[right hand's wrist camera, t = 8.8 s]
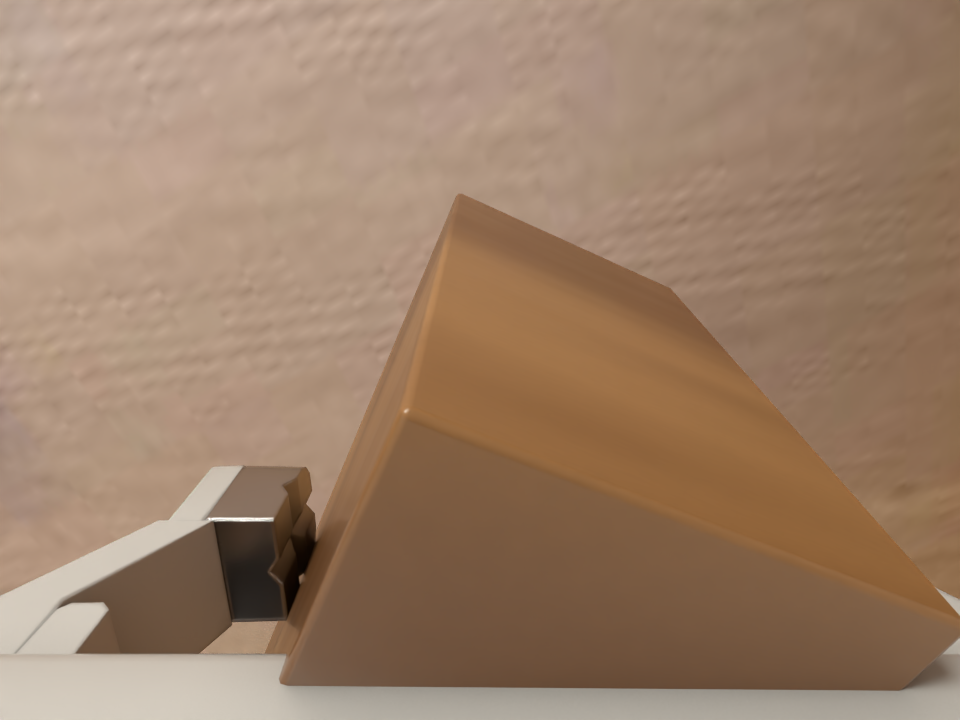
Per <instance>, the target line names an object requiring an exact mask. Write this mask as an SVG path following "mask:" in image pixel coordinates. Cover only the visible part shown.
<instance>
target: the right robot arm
mask: <svg viewBox="0 0 960 720" xmlns="http://www.w3.org/2000/svg"><path fill="white" fill-rule="evenodd" d="M311 492H312V486H311V479H310V473H309V471H308V470H307V468H306V467H274V466H247V467H246V466H244V465H241V466H216V467H212V468H211V469H210V470H209V471H208V473H207V474H206V475H205V476H204V478H203V479H202V480H201V481H200V482H199V484H198V485H197V486H196V487H195V488H194V490H193V491H192V492H191V493H190V495H189V496H188V497H187V498H186V499H185V501H184V502H183V503H182V504H181V505H180V507H179V508H178V509H177V510H176V512H175V513H174V514H173V515H172V516H171V518H170V519H169V520H158V521H156V522H154V523H152V524H150V525H148V526H146V527H144V528H141V529H139V530H137V531H135V532H133V533H131V534H129V535H127V536H125V537H123V538H121V539H118V540H116V541H114V542H112V543H110V544H108V545H106V546H104V547H102V548H100V549H97V550H95V551H93V552H91V553H89V554H87V555H85V556H83V557H81V558H79V559H77V560H74V561H72V562H70V563H68V564H66V565H64V566H62V567H60V568H58V569H56V570H53V571H51V572H49V573H47V574H45V575H43V576H41V577H39V578H37V579H35V580H33V581H30V582H28V583H26V584H24V585H22V586H20V587H18V588H16V589H14V590H12V591H9V592H7V593H5V594H3V595H1V596H0V720H960V638H959V639H958V640H957V641H956V642H955V643H954V644H953V645H952V646H950V647H949V648H948V649H947V650H946V651H945V652H944V653H943V654H942V655H941V656H939V657H938V658H937V659H936V660H935V661H934V662H933V663H932V664H931V665H930V666H928V667H927V668H926V669H925V670H924V671H923V672H922V673H921V674H920V675H919V676H917V677H916V678H915V679H914V680H913V681H912V682H911V683H910V684H909V685H908V686H906V687H905V688H904V689H902V690H899V691H866V690H741V689H615V688H490V687H364V686H286V685H283V684H280V681H279V677H280V674H281V671H282V667H283V664H284V661H285V658H286V654H199V653H200V652H201V651H202V650H204V649H205V648H206V647H207V646H208V645H209V644H211V643H212V642H213V641H214V640H215V639H216V638H218V637H219V636H220V635H221V634H222V633H223V632H225V631H226V630H227V629H228V628H229V627H230V626H231V625H232V622H255V621H286V620H287V618H288V615H289V612H290V610H291V607H292V604H293V602H294V599H295V596H296V594H297V591H298V588H299V586H300V581H299V576H301V575H302V574H304V571H305V569H306V566H307V564H308V561H309V559H310V556H311V553H312V551H313V548H314V545H315V542H316V522H315V513H314V512H313V511H312V510H311V509H310V508H309V507H308V506H307V505H306V503H307V500H308V498H309V496H310V494H311ZM936 589H937V588H936ZM937 590H938V592H939V593H940V594H941V595H942V596H943V597H944V598H945V599H946V601H947V602H948V603H949V604H950V605H951V606H952V607H953V609H954V610H955V611H956V612H957V613H958V614H959V615H960V599H958V598H956V597H953V596H951V595H949V594H947V593H945V592H943V591H941V590H939V589H937Z"/></svg>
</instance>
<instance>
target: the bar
mask: <svg viewBox="0 0 960 720" xmlns="http://www.w3.org/2000/svg"><path fill="white" fill-rule="evenodd" d="M299 581H300V586H299V588H298V591H297V594H296V596H295V599H294V602H293V604H292V607H291V610H290V612H289V615H288V618H287V620H286V621H278V623H277V625H276V628H275V630H274V632H273V635H272V637H271V639H270V642H269V644H268V647H267V649H266V651H265V654H286V658H285V661H284V664H283V667H282V671H281V674H280V677H279V681H280V684H283V685H286V686H364V687H490V688H615V689H741V690H866V691H899V690H902V689H904V688H905V687H906V686H908V685H909V684H910V683H911V682H912V681H913V680H914V679H915V678H916V677H917V676H919V675H920V674H921V673H922V672H923V671H924V670H925V669H926V668H927V667H928V666H930V665H931V664H932V663H933V662H934V661H935V660H936V659H937V658H938V657H939V656H941V655H942V654H943V653H944V652H945V651H946V650H947V649H948V648H949V647H950V646H952V645H953V644H954V643H955V642H956V641H957V640H958V639H959V638H960V615H959V614H958V613H957V612H956V611H955V610H954V609H953V607H952V606H951V605H950V604H949V603H948V602H947V601H946V599H945V598H944V597H943V596H942V595H941V594H940V593H939V592H938V590H937V589H936V588H935V587H934V586H933V585H932V584H931V583H930V581H929V580H928V579H927V578H926V577H925V576H924V575H923V573H922V572H921V571H920V570H919V569H918V568H917V567H916V566H915V564H914V563H913V562H912V561H911V560H910V559H909V558H908V557H907V555H906V554H905V553H904V552H903V551H902V550H901V549H900V547H899V546H898V545H897V544H896V543H895V542H894V541H893V540H892V538H891V537H890V536H889V535H888V534H887V533H886V532H885V531H884V529H883V528H882V527H881V526H880V525H879V524H878V523H877V521H876V520H875V519H874V518H873V517H872V516H871V515H870V514H869V512H868V511H867V510H866V509H865V508H864V507H863V506H862V505H861V503H860V502H859V501H858V500H857V499H856V498H855V497H854V495H853V494H852V493H851V492H850V491H849V490H848V489H847V488H846V486H845V485H844V484H843V483H842V482H841V481H840V480H839V479H838V477H837V476H836V475H835V474H834V473H833V472H832V471H831V469H830V468H829V467H828V466H827V465H826V464H825V463H824V462H823V460H822V459H821V458H820V457H819V456H818V455H817V454H816V453H815V451H814V450H813V449H812V448H811V447H810V446H809V445H808V443H807V442H806V441H805V440H804V439H803V438H802V437H801V436H800V434H799V433H798V432H797V431H796V430H795V429H794V428H793V427H792V425H791V424H790V423H789V422H788V421H787V420H786V419H785V417H784V416H783V415H782V414H781V413H780V412H779V411H778V410H777V408H776V407H775V406H774V405H773V404H772V403H771V402H770V401H769V399H768V398H767V397H766V396H765V395H764V394H763V393H762V391H761V390H760V389H759V388H758V387H757V386H756V385H755V384H754V382H753V381H752V380H751V379H750V378H749V377H748V376H747V375H746V373H745V372H744V371H743V370H742V369H741V368H740V367H739V365H738V364H737V363H736V362H735V361H734V360H733V359H732V358H731V356H730V355H729V354H728V353H727V352H726V351H725V350H724V349H723V347H722V346H721V345H720V344H719V343H718V342H717V341H716V340H715V338H714V337H713V336H712V335H711V334H710V333H709V332H708V330H707V329H706V328H705V327H704V326H703V325H702V324H701V323H700V321H699V320H698V319H697V318H696V317H695V316H694V315H693V314H692V312H691V311H690V310H689V309H688V308H687V307H686V306H685V304H684V303H683V302H682V301H681V300H680V299H679V298H678V297H677V295H676V294H675V293H674V292H673V291H672V290H671V289H670V288H668V287H666V286H664V285H661V284H659V283H657V282H655V281H653V280H650V279H648V278H646V277H644V276H642V275H639V274H637V273H635V272H633V271H631V270H628V269H626V268H624V267H622V266H620V265H617V264H615V263H613V262H611V261H609V260H606V259H604V258H602V257H600V256H597V255H595V254H593V253H591V252H589V251H586V250H584V249H582V248H580V247H578V246H575V245H573V244H571V243H569V242H567V241H564V240H562V239H560V238H558V237H556V236H553V235H551V234H549V233H547V232H545V231H542V230H540V229H538V228H536V227H534V226H531V225H529V224H527V223H525V222H523V221H520V220H518V219H516V218H514V217H512V216H509V215H507V214H505V213H503V212H501V211H498V210H496V209H494V208H492V207H490V206H487V205H485V204H483V203H481V202H479V201H476V200H474V199H472V198H470V197H468V196H465V195H463V194H458V195H457V196H456V198H455V200H454V203H453V205H452V207H451V210H450V212H449V215H448V217H447V219H446V222H445V224H444V227H443V229H442V231H441V234H440V236H439V238H438V241H437V243H436V246H435V248H434V250H433V253H432V255H431V258H430V260H429V262H428V265H427V267H426V269H425V272H424V274H423V277H422V279H421V281H420V284H419V286H418V289H417V291H416V293H415V296H414V298H413V301H412V303H411V305H410V308H409V310H408V312H407V315H406V317H405V320H404V322H403V324H402V327H401V329H400V332H399V334H398V336H397V339H396V341H395V343H394V346H393V348H392V351H391V353H390V355H389V358H388V360H387V363H386V365H385V367H384V370H383V372H382V375H381V377H380V379H379V382H378V384H377V386H376V389H375V391H374V394H373V396H372V398H371V401H370V403H369V406H368V408H367V410H366V413H365V415H364V417H363V420H362V422H361V425H360V427H359V429H358V432H357V434H356V437H355V439H354V441H353V444H352V446H351V449H350V451H349V453H348V456H347V458H346V460H345V463H344V465H343V468H342V470H341V472H340V475H339V477H338V480H337V482H336V484H335V487H334V489H333V491H332V494H331V496H330V499H329V501H328V503H327V506H326V508H325V511H324V513H323V515H322V518H321V520H320V523H319V525H318V527H317V530H316V542H315V545H314V548H313V551H312V553H311V556H310V559H309V561H308V564H307V566H306V569H305V571H304V574H302V575H301V576H299Z"/></svg>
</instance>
